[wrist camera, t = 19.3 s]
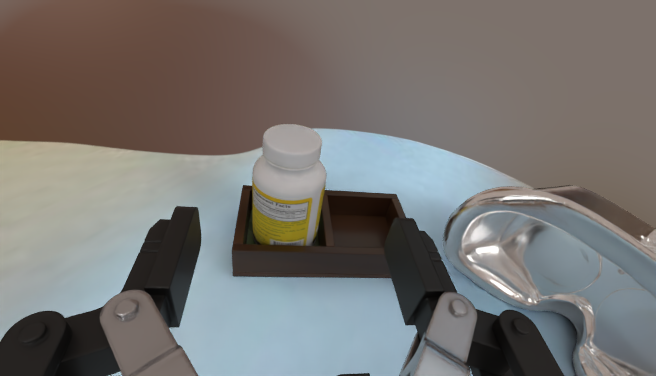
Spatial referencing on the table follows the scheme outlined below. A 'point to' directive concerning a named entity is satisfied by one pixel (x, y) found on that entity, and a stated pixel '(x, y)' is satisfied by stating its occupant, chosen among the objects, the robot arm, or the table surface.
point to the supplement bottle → (288, 187)
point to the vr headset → (566, 268)
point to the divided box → (323, 239)
